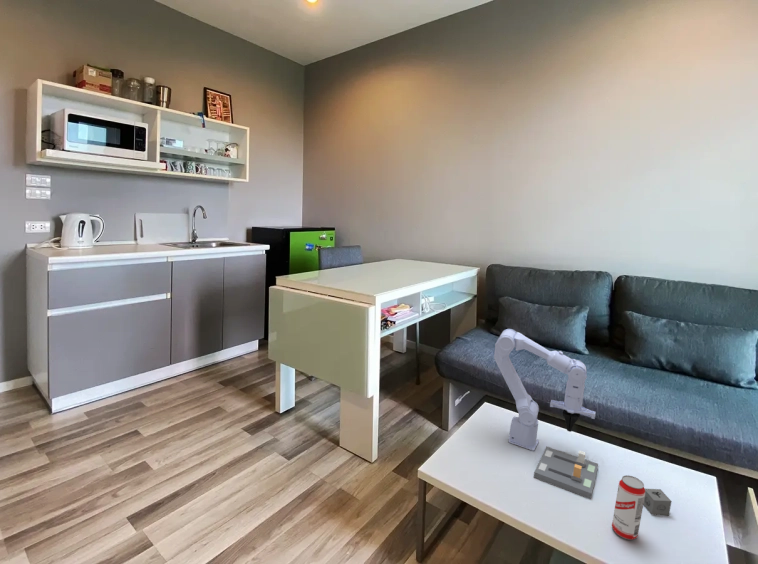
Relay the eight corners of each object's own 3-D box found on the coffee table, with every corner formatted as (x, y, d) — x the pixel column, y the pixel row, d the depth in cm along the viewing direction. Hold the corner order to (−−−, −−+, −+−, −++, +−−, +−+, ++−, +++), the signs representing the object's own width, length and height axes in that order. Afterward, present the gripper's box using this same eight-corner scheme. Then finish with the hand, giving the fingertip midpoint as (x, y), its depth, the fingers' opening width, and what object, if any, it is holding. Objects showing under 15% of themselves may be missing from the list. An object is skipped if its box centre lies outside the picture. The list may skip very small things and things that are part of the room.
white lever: (575, 464, 138) (577, 452, 137) (576, 461, 140) (578, 449, 139) (584, 467, 137) (586, 455, 136) (585, 464, 139) (587, 452, 138)
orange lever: (571, 478, 131) (572, 466, 130) (572, 475, 133) (573, 463, 132) (580, 482, 129) (582, 469, 129) (581, 478, 131) (583, 466, 130)
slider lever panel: (533, 477, 134) (534, 471, 134) (545, 451, 149) (546, 445, 149) (590, 499, 125) (591, 493, 125) (597, 468, 140) (598, 463, 139)
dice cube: (657, 503, 124) (660, 489, 123) (668, 516, 119) (671, 501, 118) (641, 502, 124) (643, 488, 123) (651, 515, 119) (654, 500, 119)
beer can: (628, 545, 108) (637, 492, 105) (606, 528, 114) (614, 477, 111) (642, 536, 111) (651, 485, 108) (620, 520, 117) (628, 471, 114)
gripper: (550, 393, 144) (545, 428, 147) (595, 405, 136) (590, 442, 139) (554, 386, 150) (550, 420, 153) (598, 397, 142) (593, 433, 145)
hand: (569, 430), depth 146 cm, fingers closed
